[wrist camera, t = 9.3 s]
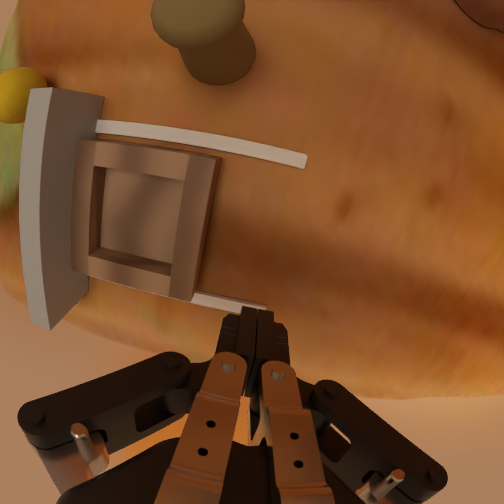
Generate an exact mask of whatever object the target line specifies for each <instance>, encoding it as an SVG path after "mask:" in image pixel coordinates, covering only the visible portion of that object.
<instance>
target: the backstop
mask: <svg viewBox="0 0 504 504" xmlns="http://www.w3.org/2000/svg"><path fill="white" fill-rule="evenodd" d="M103 102H104V97H103V96H98V95H93V94H88V93H83V92H77V91H72V90H66V89H60V88H54V87H49V88H35V89H31V90H30V95H29V100H28V106H27V112H26V118H25V125H24V132H23V141H22V151H21V164H20V184H19V222H20V242H21V255H22V265H23V274H24V281H25V289H26V295H27V301H28V307H29V312H30V317H31V322H32V323H33V324H36V325H38V326H40V327H43V328H45V329H47V330H49V331H51V330H52V328H53V327H54V326H55V325H56V324H57V323H58V322H59V321H60V320H61V319H62V318H63V317H64V316H65V315H66V314H67V313H68V312H69V310H70V309H71V308H72V307H73V306H74V305H75V304H76V303H77V302H78V301H79V300H80V299H81V298H82V297H83V296H84V295H85V294H86V293H87V292H88V291H89V281H88V276H89V275H86V274H82V273H79V272H76V271H73V270H72V263H71V214H72V193H73V179H74V168H75V159H76V150H77V143H78V140H82V139H97V135H98V133H107V134H117V135H126V136H134V137H142V138H150V139H157V140H164V141H171V142H177V143H183V144H189V145H195V146H201V147H207V148H212V149H217V150H222V151H228V152H233V153H237V154H242V155H247V156H252V157H256V158H261V159H265V160H269V161H274V162H278V163H282V164H286V165H290V166H294V167H298V168H302V169H304V168H305V164H306V160H307V156H308V155H305V154H302V153H298V152H294V151H290V150H286V149H282V148H278V147H273V146H269V145H265V144H260V143H256V142H251V141H246V140H242V139H237V138H232V137H226V136H221V135H216V134H210V133H204V132H198V131H192V130H186V129H179V128H172V127H165V126H158V125H149V124H141V123H131V122H121V121H110V120H100V117H101V112H102V107H103ZM91 277H93V276H91ZM95 278H96V277H95ZM98 279H99V278H98ZM102 280H103V279H102ZM105 281H106V280H105ZM109 282H110V281H109ZM112 283H113V282H112ZM116 284H117V283H116ZM119 285H121V284H119ZM123 286H124V285H123ZM127 287H128V286H127ZM130 288H132V287H130ZM134 289H135V288H134ZM138 290H139V289H138ZM142 291H143V290H142ZM146 292H147V291H146ZM149 293H151V292H149ZM153 294H155V293H153ZM157 295H158V294H157ZM161 296H162V295H161ZM165 297H166V296H165ZM169 298H171V297H169ZM173 299H175V298H173ZM177 300H179V299H177ZM181 301H183V300H181ZM186 302H187V301H186ZM190 303H194V304H198V305H203V306H207V307H212V308H216V309H221V310H225V311H230V312H235V313H240V312H241V308H242V306H247V307H252V308H257V311H258V309H262V310H266V309H267V305H262V304H257V303H252V302H247V301H243V300H238V299H233V298H229V297H224V296H219V295H215V294H210V293H206V292H202V291H197V290H196V291H195V293H194V296H193V298H192V300H191V302H190Z"/></svg>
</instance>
